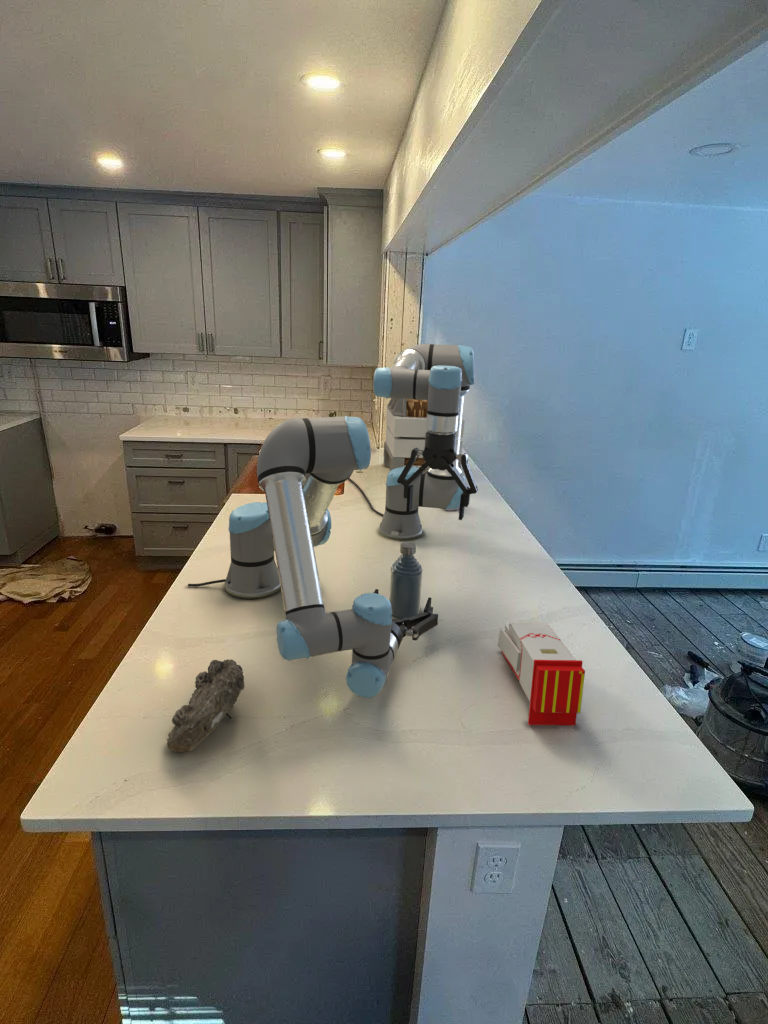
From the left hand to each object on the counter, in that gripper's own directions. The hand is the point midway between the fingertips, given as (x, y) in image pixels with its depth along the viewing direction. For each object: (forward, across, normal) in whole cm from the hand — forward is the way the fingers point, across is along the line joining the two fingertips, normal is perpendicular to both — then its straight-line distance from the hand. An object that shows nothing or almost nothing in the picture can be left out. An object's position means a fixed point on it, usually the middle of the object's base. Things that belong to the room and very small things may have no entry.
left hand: (403, 597), depth 143 cm
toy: (-17, +33, -6) cm, 37 cm away
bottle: (+5, 0, -6) cm, 8 cm away
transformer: (+137, -21, -6) cm, 139 cm away
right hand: (+10, +5, +20) cm, 23 cm away
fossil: (-46, -27, -6) cm, 54 cm away
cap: (+5, 0, +12) cm, 13 cm away
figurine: (+92, 0, -6) cm, 92 cm away
